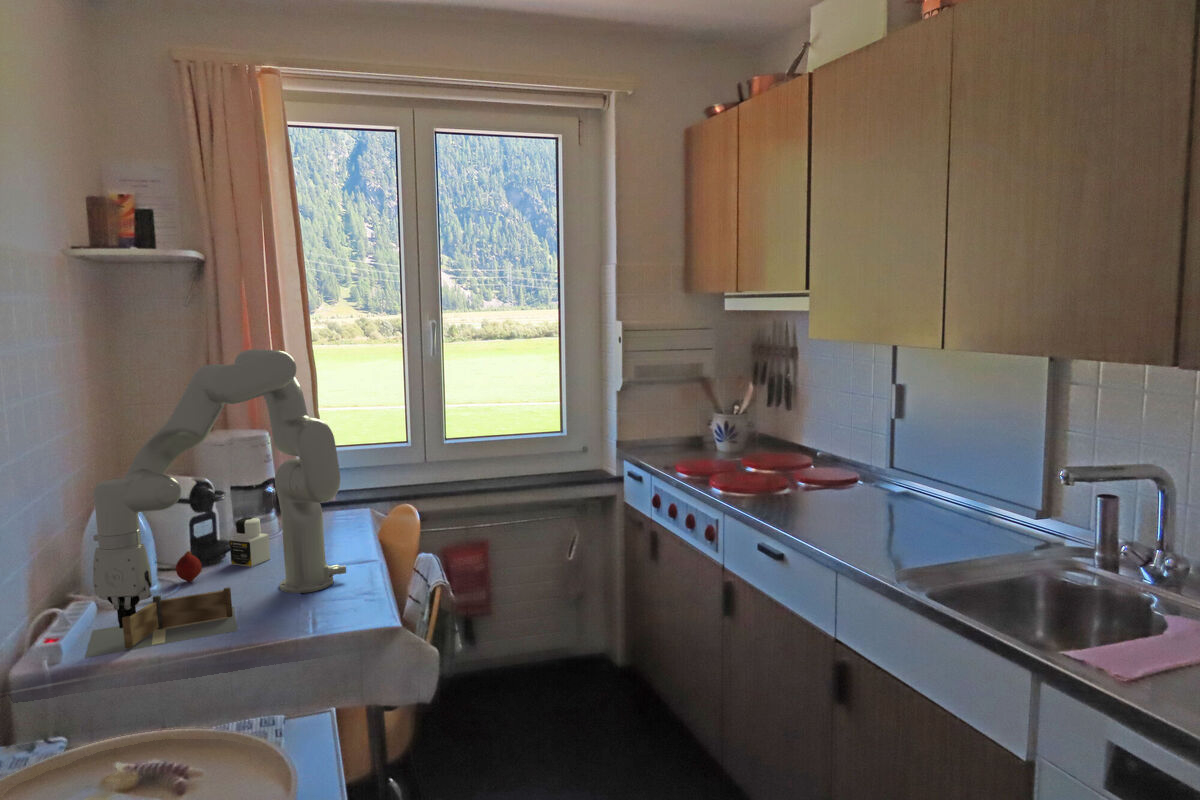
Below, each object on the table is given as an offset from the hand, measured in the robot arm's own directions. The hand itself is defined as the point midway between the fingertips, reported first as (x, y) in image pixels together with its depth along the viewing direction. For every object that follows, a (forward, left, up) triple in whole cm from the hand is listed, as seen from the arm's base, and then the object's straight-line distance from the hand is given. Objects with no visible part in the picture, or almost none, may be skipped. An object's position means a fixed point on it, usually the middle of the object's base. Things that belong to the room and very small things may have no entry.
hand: (127, 625), depth 176 cm
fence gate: (-2, +1, -3) cm, 4 cm away
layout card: (-7, -3, -4) cm, 8 cm away
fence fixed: (-13, -5, -3) cm, 14 cm away
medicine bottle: (-27, -47, -4) cm, 54 cm away
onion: (-12, -37, -4) cm, 39 cm away
